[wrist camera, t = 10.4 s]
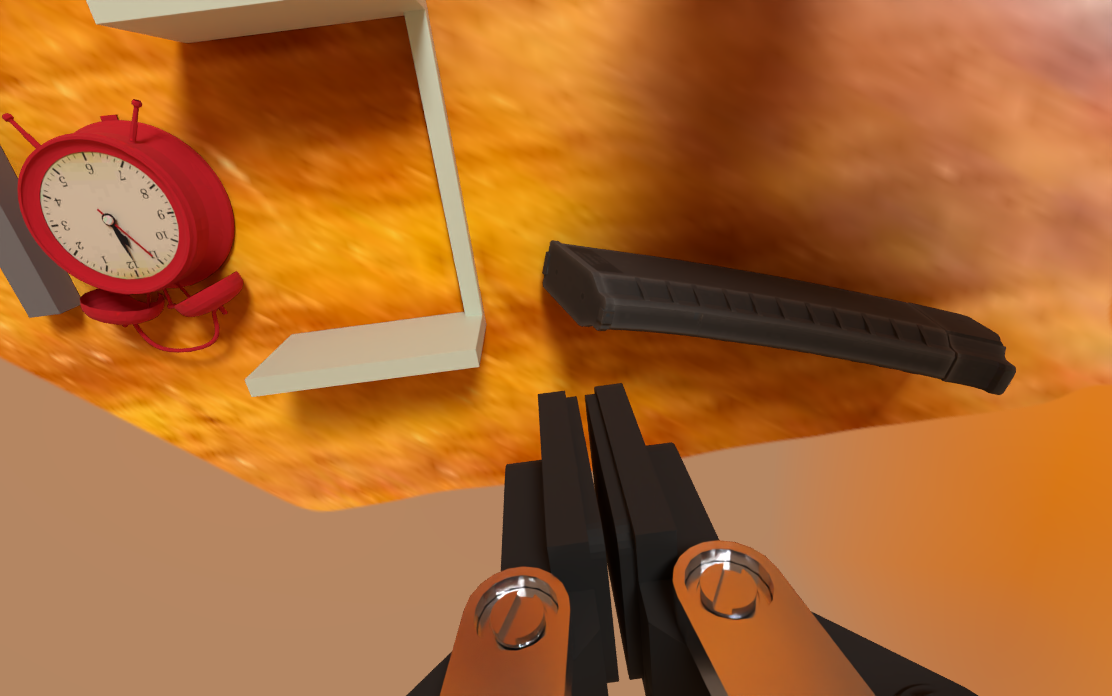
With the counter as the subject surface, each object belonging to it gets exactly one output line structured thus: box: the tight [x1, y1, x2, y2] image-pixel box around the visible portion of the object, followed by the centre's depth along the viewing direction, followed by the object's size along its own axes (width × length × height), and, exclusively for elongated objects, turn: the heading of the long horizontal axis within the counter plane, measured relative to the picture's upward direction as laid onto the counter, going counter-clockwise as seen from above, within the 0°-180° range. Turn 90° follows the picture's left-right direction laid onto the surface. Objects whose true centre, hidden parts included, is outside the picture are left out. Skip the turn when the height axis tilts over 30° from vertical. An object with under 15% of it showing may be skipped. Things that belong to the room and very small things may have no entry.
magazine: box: [542, 240, 1016, 395], centre depth 34 cm, size 17×3×30 cm
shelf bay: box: [86, 0, 486, 397], centre depth 31 cm, size 21×14×7 cm
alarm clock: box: [2, 99, 243, 352], centre depth 32 cm, size 10×6×15 cm
